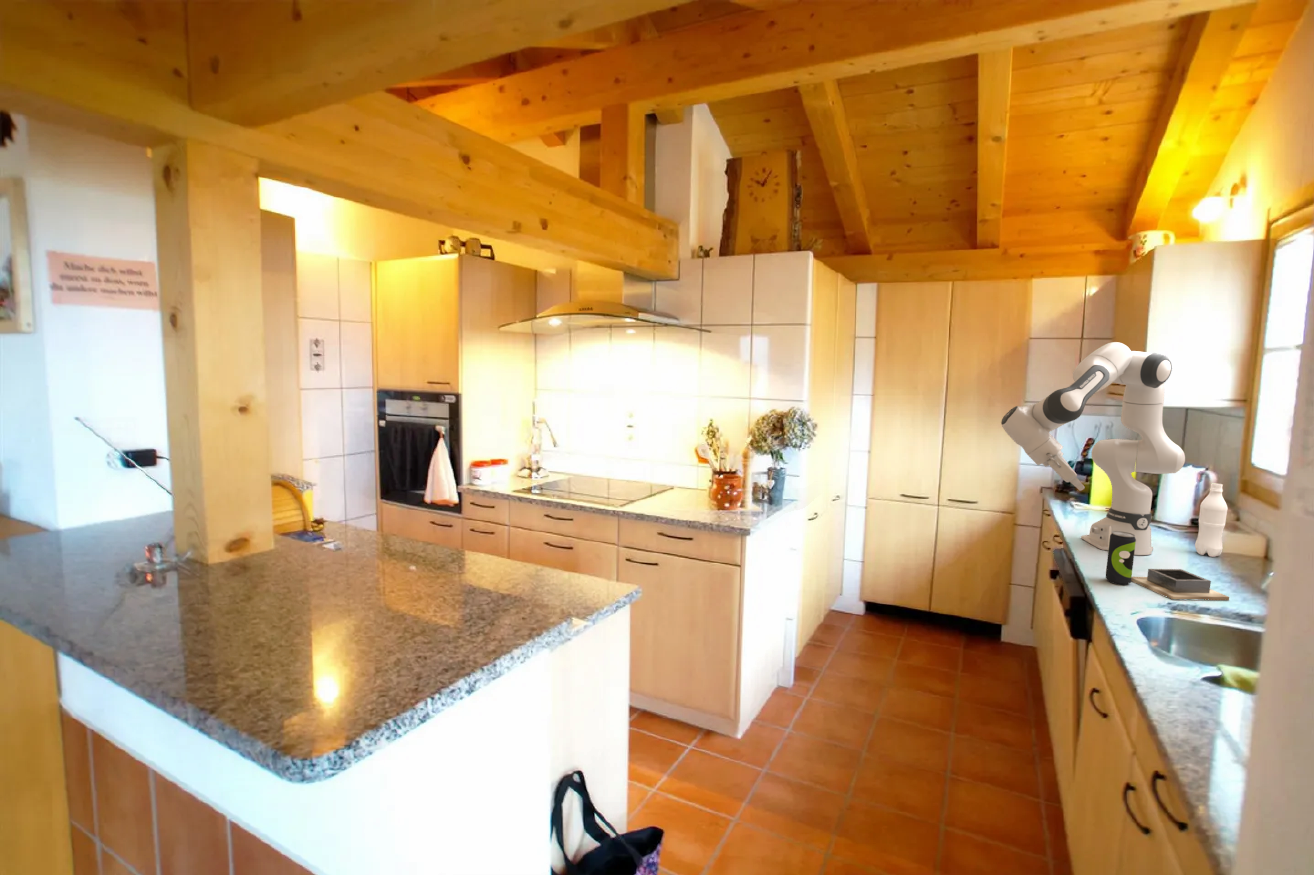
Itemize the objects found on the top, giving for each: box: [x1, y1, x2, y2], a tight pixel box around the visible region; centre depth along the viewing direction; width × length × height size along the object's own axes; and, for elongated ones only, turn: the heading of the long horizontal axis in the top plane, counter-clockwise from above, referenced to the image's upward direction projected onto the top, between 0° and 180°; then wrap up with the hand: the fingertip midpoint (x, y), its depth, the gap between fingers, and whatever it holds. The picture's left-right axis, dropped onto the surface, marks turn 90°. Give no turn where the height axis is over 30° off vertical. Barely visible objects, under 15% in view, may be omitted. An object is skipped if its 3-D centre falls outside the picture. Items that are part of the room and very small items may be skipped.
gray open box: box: [1146, 568, 1212, 593], centre depth 183 cm, size 10×10×4 cm
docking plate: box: [1131, 576, 1230, 601], centre depth 184 cm, size 16×16×1 cm
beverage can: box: [1105, 531, 1136, 586], centre depth 189 cm, size 6×6×15 cm
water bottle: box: [1194, 482, 1229, 558], centre depth 217 cm, size 7×7×25 cm
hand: (1080, 486), depth 191 cm, fingers open, 8 cm apart
